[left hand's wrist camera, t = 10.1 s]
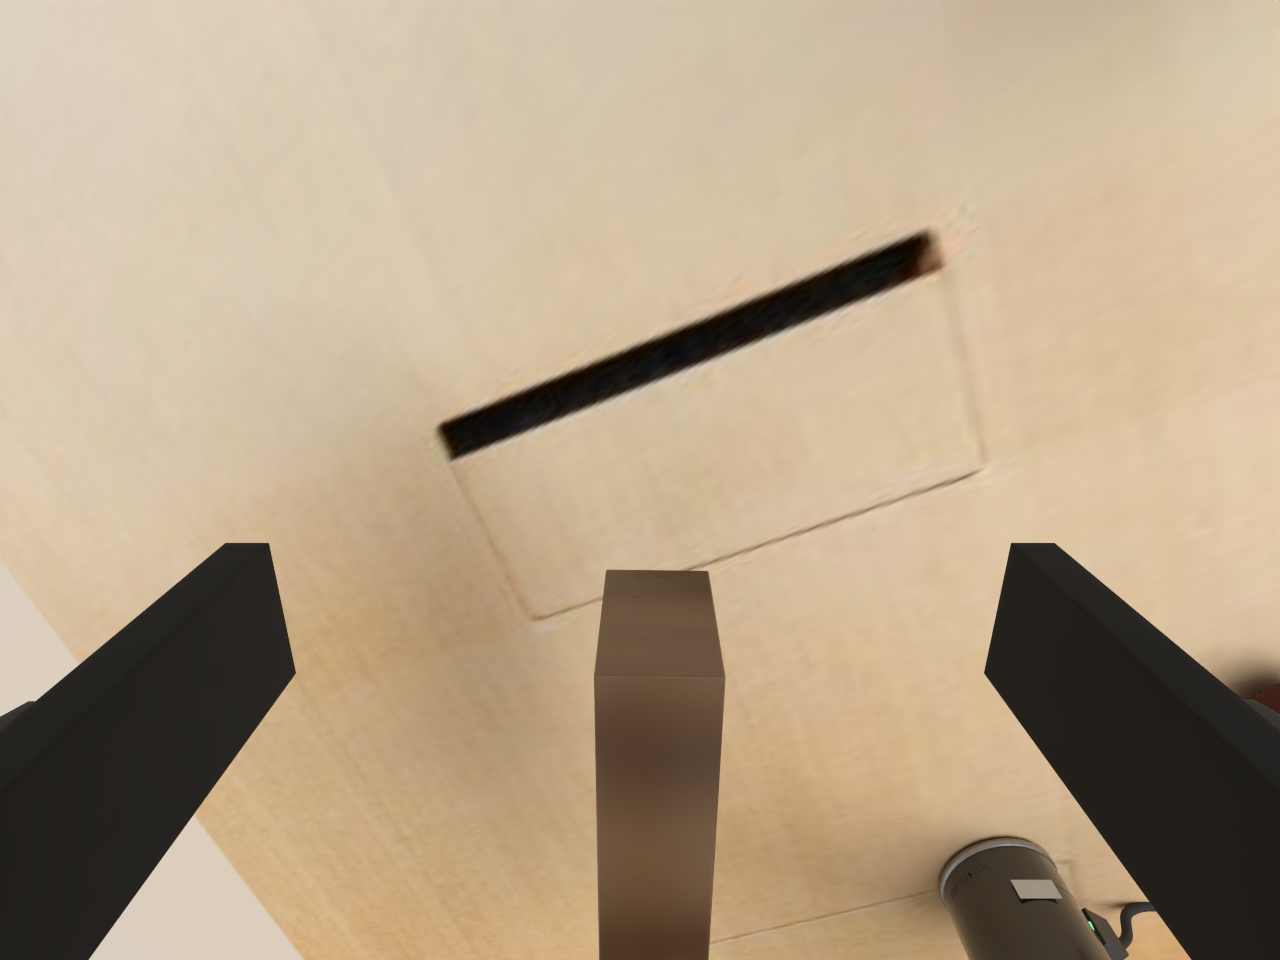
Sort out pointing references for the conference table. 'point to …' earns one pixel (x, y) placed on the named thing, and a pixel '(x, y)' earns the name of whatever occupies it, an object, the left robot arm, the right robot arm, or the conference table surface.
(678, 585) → the bar
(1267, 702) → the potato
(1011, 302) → the conference table surface
